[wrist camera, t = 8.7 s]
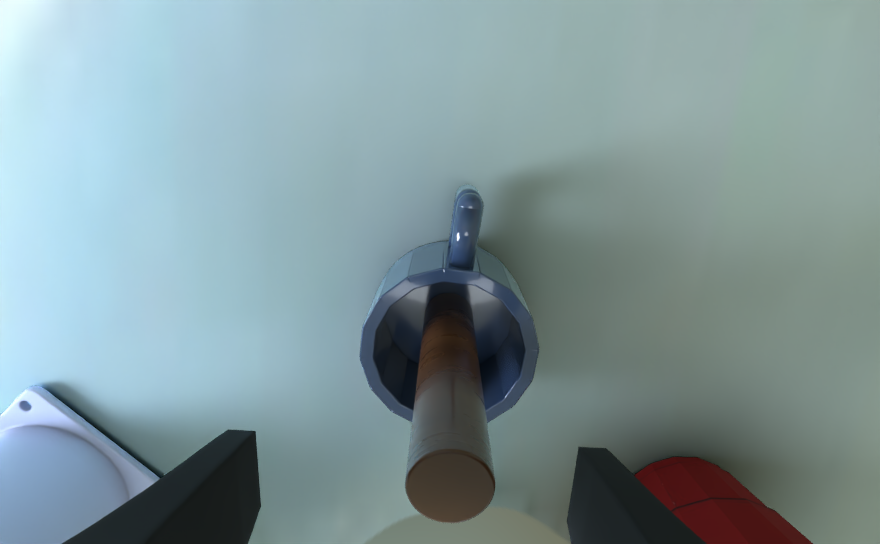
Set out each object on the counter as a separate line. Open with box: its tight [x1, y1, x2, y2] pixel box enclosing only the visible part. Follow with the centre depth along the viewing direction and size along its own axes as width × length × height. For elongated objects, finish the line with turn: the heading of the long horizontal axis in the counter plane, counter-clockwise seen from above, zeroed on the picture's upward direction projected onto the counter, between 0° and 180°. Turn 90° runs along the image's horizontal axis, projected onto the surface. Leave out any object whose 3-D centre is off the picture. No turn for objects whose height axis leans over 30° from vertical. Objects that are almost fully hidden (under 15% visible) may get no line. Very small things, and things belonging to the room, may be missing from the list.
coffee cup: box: [360, 184, 539, 423], centre depth 18 cm, size 9×6×4 cm
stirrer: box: [405, 293, 495, 523], centre depth 15 cm, size 2×2×10 cm
